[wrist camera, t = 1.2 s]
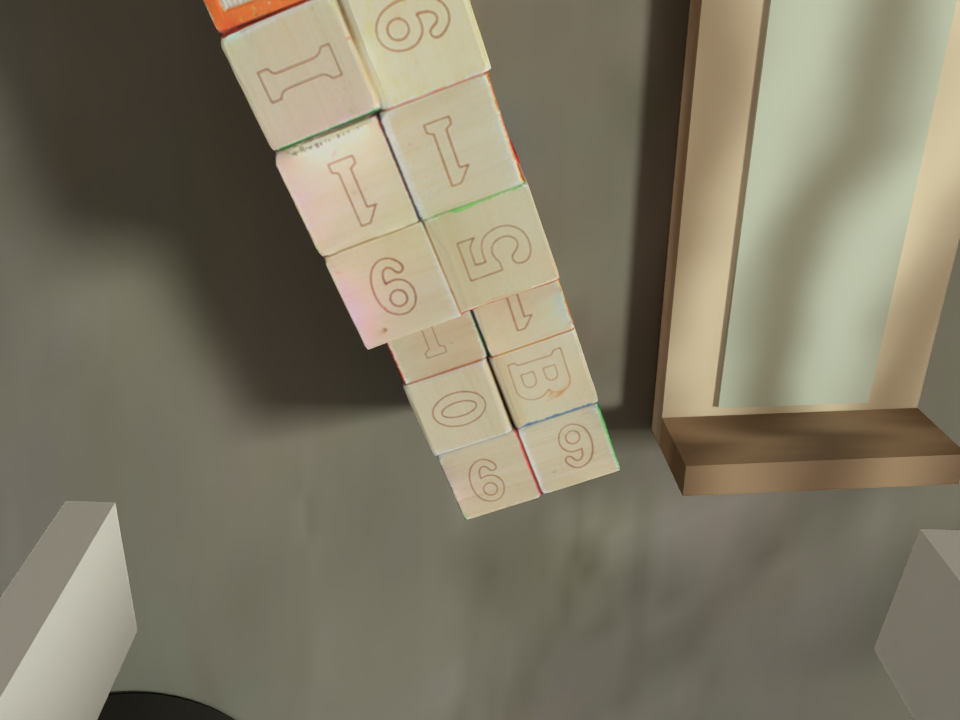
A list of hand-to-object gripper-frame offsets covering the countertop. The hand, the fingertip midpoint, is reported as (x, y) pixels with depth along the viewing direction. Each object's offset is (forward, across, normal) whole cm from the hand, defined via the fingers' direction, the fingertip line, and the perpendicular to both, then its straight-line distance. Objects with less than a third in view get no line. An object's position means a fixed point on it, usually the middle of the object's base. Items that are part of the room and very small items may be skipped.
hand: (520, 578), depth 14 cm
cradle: (+24, -14, -2) cm, 28 cm away
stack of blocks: (+24, +2, -1) cm, 24 cm away
